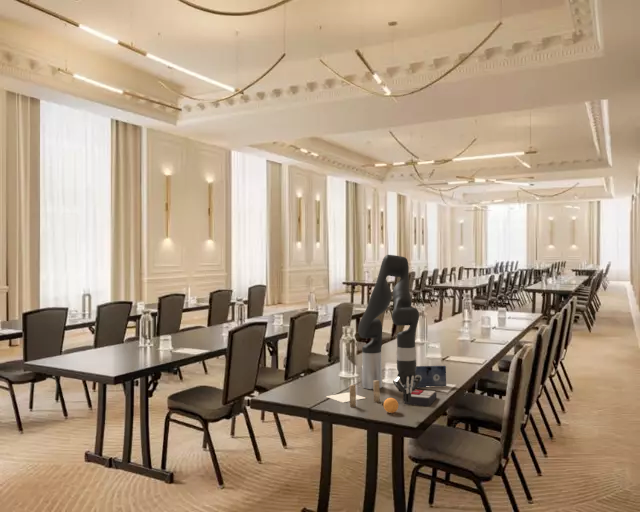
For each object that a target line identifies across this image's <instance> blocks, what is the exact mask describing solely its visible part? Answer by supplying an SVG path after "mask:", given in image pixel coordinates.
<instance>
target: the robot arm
mask: <svg viewBox="0 0 640 512" xmlns="http://www.w3.org/2000/svg"><path fill="white" fill-rule="evenodd" d="M409 270H410V267H409V261H408V259H407V258H406V256H402V255H394V254H386V255H384V257H383V259H382V262H381V264H380V268H379V272H378V275H377V276H378V277H377V279H376V282H375V285H374V287H373V290H372V292H371V294H370V297H369V300H368V303H367V306H366V309H365V311H364V312H363V315H362V317H361V319H360V320H359V323H358V326H357V327H358V328H357V329H358V330H357V331H358V335H359V337H360V338H362V339H371V340H370V341H369V342H368V343H365V344H364V345H362V347H361V354H362V355H361V358H362V360H361V361H362V365H361V367H360V368H361V371H360V373H361V387H362V388H363V389H365V390H366V389H367V390H374V385H373V381H375V380H378V381H379V387H380V389H382V388H383V386H382V385H383V383H382V382H383V381H382V379H383V378H382V376H383V374H382V348H383V347H382V346H383V324H382V321H381V320H380V318H378V317H379V316H381V314H383V313H384V312H385V311H386V310H387V309H388V308H389V306H390V303H391V301H392V300H393V310H392V313H391V314H392V315H391V320H392V322H393V324H394V325H395V326H400V327H401V326H408V329H406V330H402V331H399V332H397V334H396V342H397V343H396V346H397V347H396V370H397V372H398V373H397V376H396V377H397V378H396V379H394V380H392V382H393V385H394V387H396V389H397V390H398V392H400V393H402V394H403V395H402V396H403V403H404V402H405V403H410V402H411V393H412V391H415V390H417V388H416V387H417V385H418V383H419V381H420V377H417V376H416V373H415V371H416V366H417V350H416V331H417V327H418V323H419V320H420V312H419V310H418V309H417V308H416V307H413V306H412V298H411V293H410V277H409V276H410V274H409V272H410V271H409ZM388 277H393V278H400V279H399V281H398V282H397V283H396V284H395V285H394V287H393V290H391V288H390V286H389V283H388V281H387V278H388ZM392 298H393V299H392Z"/></svg>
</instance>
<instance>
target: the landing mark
mask: <svg viewBox="0 0 640 512" xmlns="http://www.w3.org/2000/svg"><path fill="white" fill-rule="evenodd" d="M325 397H326V398H328V399H329V400H333V401H337V402H338V403H339V402H340V403H341V404H343V403H344V404H345V403H350V391H349V392H343V393H337V394H333V395H332V394H331V395H327V396H325ZM364 399H365V400H366V397H364V396H361V395H360V394H359V395H358V394H356V401H359V400H364Z"/></svg>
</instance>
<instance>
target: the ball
mask: <svg viewBox="0 0 640 512" xmlns="http://www.w3.org/2000/svg"><path fill="white" fill-rule="evenodd" d="M383 408H384V410H385V412H387V413H389V414H394V413H396V412H397V411H398V410H399V402H398V401H397V399H395V398H393V397H388V398H386V399H385V400H384V402H383Z"/></svg>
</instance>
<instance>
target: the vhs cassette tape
mask: <svg viewBox="0 0 640 512" xmlns="http://www.w3.org/2000/svg"><path fill="white" fill-rule="evenodd" d="M415 373H416V376H417V377H420V381H419V383H418V385H417V387H419V388H427V387H426V386H446V387H447V367H446V365H420V366H417V365H416V371H415ZM417 387H416V389H417Z"/></svg>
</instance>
